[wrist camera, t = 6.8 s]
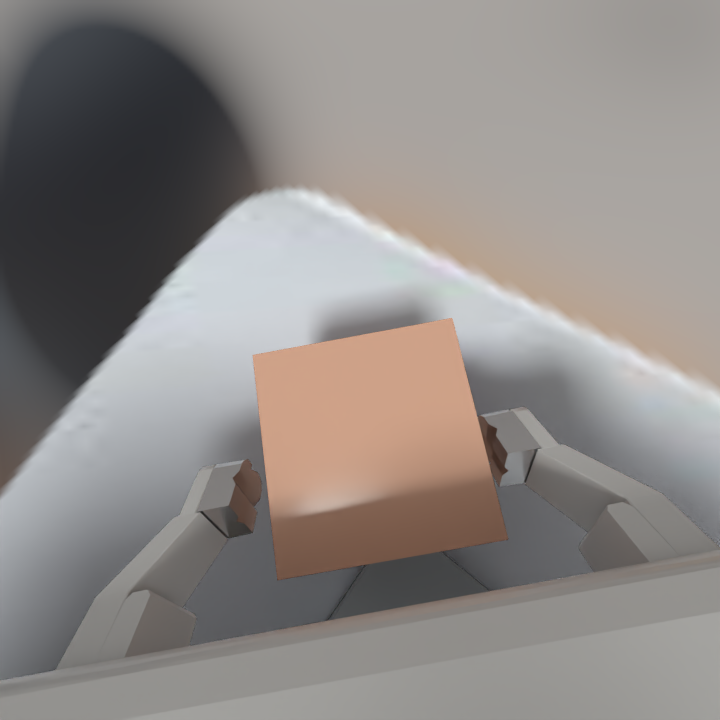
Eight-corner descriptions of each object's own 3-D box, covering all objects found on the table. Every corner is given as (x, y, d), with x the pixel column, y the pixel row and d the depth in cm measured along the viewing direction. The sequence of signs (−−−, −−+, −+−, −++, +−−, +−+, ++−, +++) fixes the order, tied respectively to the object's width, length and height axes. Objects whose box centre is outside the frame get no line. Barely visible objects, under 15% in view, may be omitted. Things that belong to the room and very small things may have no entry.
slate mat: (568, 654, 13) (575, 664, 13) (452, 862, 12) (455, 882, 11) (398, 516, 14) (399, 520, 14) (280, 691, 13) (276, 702, 13)
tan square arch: (439, 473, 15) (508, 539, 7) (324, 493, 15) (277, 579, 7) (414, 359, 16) (452, 317, 8) (307, 379, 16) (252, 354, 9)
